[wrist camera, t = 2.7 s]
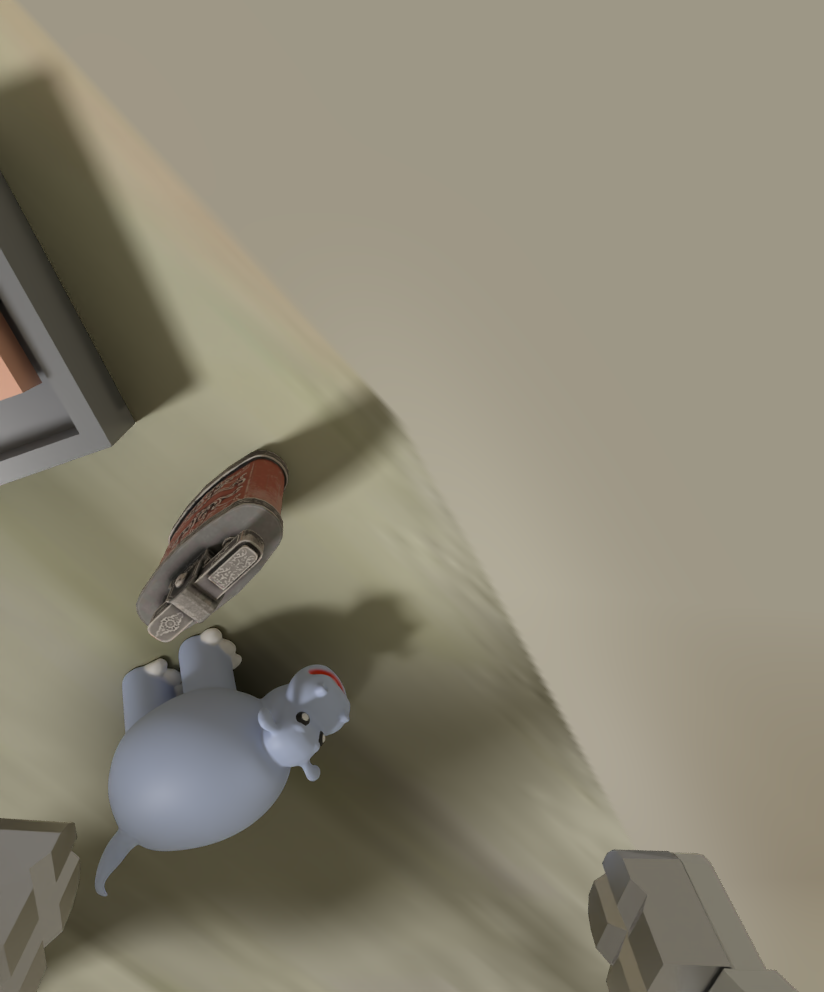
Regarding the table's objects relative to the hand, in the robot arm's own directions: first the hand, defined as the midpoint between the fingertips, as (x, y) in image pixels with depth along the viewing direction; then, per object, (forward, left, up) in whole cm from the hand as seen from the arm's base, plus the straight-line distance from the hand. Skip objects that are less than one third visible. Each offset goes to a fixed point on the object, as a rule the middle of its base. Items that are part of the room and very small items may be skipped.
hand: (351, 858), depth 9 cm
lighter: (-7, -3, -26) cm, 27 cm away
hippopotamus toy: (-12, -15, -26) cm, 32 cm away
